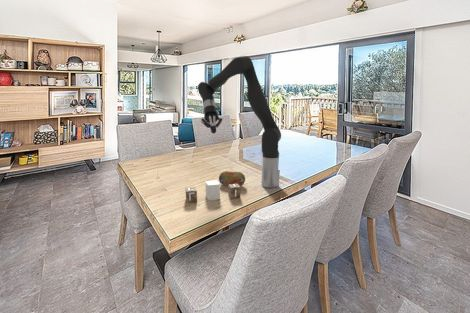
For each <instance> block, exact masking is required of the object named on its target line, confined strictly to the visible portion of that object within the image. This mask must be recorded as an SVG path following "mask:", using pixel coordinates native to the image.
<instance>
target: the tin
mask: <svg viewBox="0 0 470 313" xmlns="http://www.w3.org/2000/svg"><path fill="white" fill-rule="evenodd" d="M218 180H219V181H218V182H219V184H220V185H222V186H224V187H228V184H238V185H239V186H240V187H242V186H243V185H244V183H245V182H246V176H245V175H244V174H243V173H242V172H240V171H231V170H230V171H229V170H227V171H226V170H225V171H223V172H221V173H219V176H218Z"/></svg>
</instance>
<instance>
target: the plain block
mask: <svg viewBox="0 0 470 313" xmlns="http://www.w3.org/2000/svg"><path fill="white" fill-rule="evenodd" d="M205 197H206V199H207V201H215V200H220V199H221V183H220V181H218V180H217V179H215V180H208V181H207V180H205Z"/></svg>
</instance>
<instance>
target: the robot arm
mask: <svg viewBox="0 0 470 313" xmlns="http://www.w3.org/2000/svg"><path fill="white" fill-rule="evenodd" d="M237 75H243V76H244V78H245V82H246V86H247V91H246V92H247V93H246V94H247V96H246V97H247V100H248V104H249V105H250V106H249V107H250V108H251V110H252V112H253V113H254V115H255V116H256V117H257V119H258V120H259V121H260V123H261V125H262V128H263V132H262V133H261V153H262V161H261V162H262V164H261V186H262V187H264V188H267V189H275V188H277V187H280V170H279V166H280V165H279V164H280V162H279V161H280V152H279V142H280V140H281V139H282V132H281V130H280V129H279V127H278V125H277V122H276V121H275V119H274V117H273V115H272V114H273V113H272V112H271V111H272V110H271V108H270V106H269V103H268V101H267V98H266V96H265V94H264V91H263V89H262V86H261V84H260V82H259V78H258V76H257V72H256V70H255V66H254V63H253V61H252V59H251V57H249V56H247V55H239V56H235V57H234V58H233V59H231V60H230V62H229V63H228V64H227V65H226V66H225V67H224V68H223V69H222V70H221V71H219V72H218V73H217V74H215V75H214V76H212V77H211V78H210V79H209V80H208V82H207V81H201V82H199V83H198V87H197V89H198V90H197V91H198V94H199V95H200V97H201V99H202V107H203V109H202V110H203V113H204V114H203V115H204V117H203V118H201V120H200V122H201V123H202V124H203V126H205V127H206V128H207V129H208V128H209V129H210V132H211V133H212V134H216V133H217V128H219V127H220V125H221V123H223V118H222V117H221V118H220V117H219V115H218V111H217V106H216V103H215V97H214V94H215V92H217V91H218V90H219V88H221V87H223V86H224V85H225V84H226V83H227V81H229V79H230V78H232V77H235V76H237Z"/></svg>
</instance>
